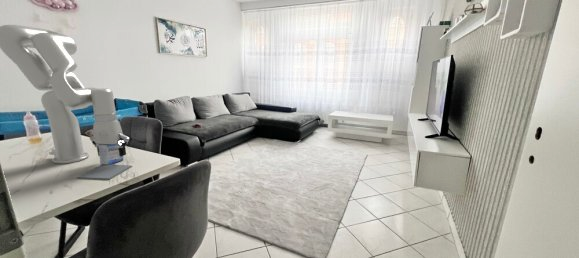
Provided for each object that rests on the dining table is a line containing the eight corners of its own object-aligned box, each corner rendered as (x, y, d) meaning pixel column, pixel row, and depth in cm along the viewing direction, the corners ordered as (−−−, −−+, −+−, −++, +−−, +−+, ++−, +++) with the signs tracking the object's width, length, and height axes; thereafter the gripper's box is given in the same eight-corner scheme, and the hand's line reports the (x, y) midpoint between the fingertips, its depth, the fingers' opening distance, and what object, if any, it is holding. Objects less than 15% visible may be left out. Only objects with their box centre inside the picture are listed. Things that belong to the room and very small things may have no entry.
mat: (76, 178, 94) (76, 176, 94) (103, 165, 107) (102, 164, 107) (109, 179, 94) (109, 178, 94) (132, 166, 107) (131, 165, 106)
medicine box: (108, 165, 106) (106, 145, 105) (99, 164, 107) (97, 144, 105) (123, 160, 114) (122, 141, 112) (115, 159, 114) (114, 141, 113)
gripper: (79, 119, 102) (86, 157, 106) (119, 119, 101) (125, 158, 105) (93, 115, 109) (100, 152, 113) (131, 116, 109) (136, 153, 113)
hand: (112, 155), depth 109 cm, fingers open, 9 cm apart
